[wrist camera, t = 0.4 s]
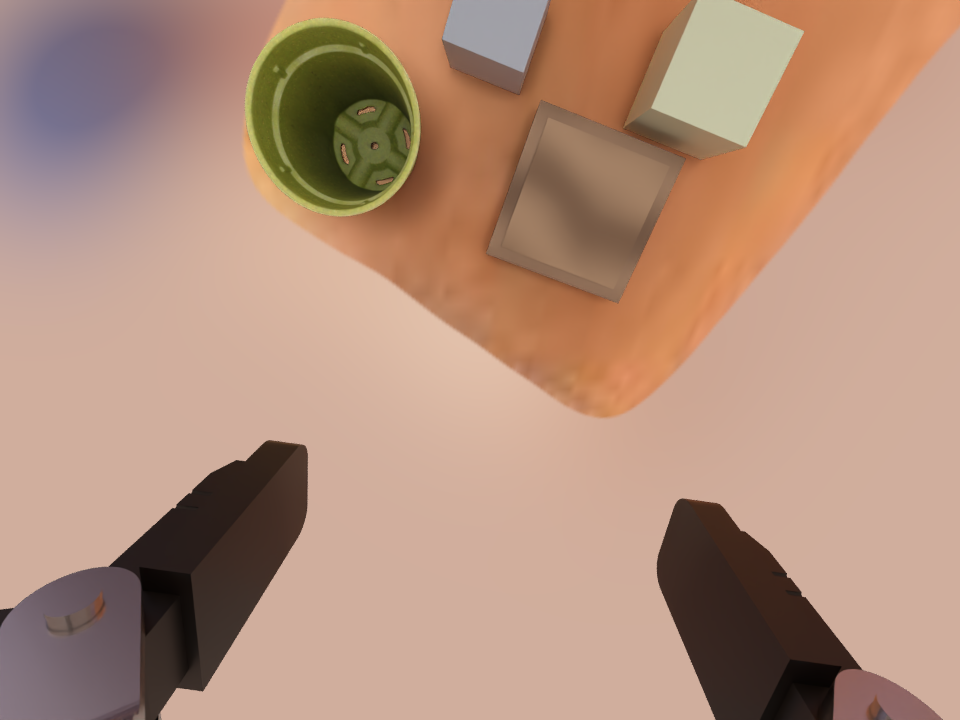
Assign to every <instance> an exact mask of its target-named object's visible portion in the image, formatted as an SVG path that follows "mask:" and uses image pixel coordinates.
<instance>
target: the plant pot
mask: <svg viewBox="0 0 960 720" xmlns="http://www.w3.org/2000/svg"><path fill="white" fill-rule="evenodd" d="M368 106H373V107H375V109H376V110H375V112H368V113H364V114H361V115H357V112H358V110H361V109H364V108H366V107H368ZM245 118H246V126H247V130H248V134H249V138H250V141H251V144H252V147H253V149H254V152H255V154H256V157H257V159H258V161H259V162H260V164H261V166H262V168H263V169H264V171H265V172H266V174H267V175H268V176H269V178H270V179H271V180H272V181H273V183H274V184H275V185H276V186H277V187H278V188H279V189H280V190H281V191H282V192H283V193H284V194H285V195H287V196H288V197H289V198H290V199H292V200H293V201H295V202H296V203H297V204H299V205H301V206H303V207H305V208H307V209H309V210H311V211H313V212H316V213H320V214H324V215H328V216H338V217H344V216H354V215H359V214H363V213H366V212H368V211H371V210H373V209H375V208H377V207H379V206H381V205H382V204H384V203H385V202H386V201H388V200H389V199H390V198H391V197H392V196H393V195H395V194H396V192H397V191H398V190H399V189H400V188H401V187H402V185H403V184H404V183H405V181H406V179H407V178H408V177H409V175H410V174H411V172H412V170H413V168H414V166H415V163H416V160H417V154H418V150H419V145H420V137H421V119H420V110H419V105H418V101H417V97H416V93H415V90H414V88H413V85H412V83H411V80H410V78H409V76H408V74H407V72H406V71H405V69H404V67H403V65H402V64H401V62H400V61H399V60H398V58H397V57H396V56H395V54H394V53H393V52H392V51H391V50H390V49H389V47H388V46H387V45H386V44H385V43H384V42H382V41H381V40H380V39H379V38H378V37H376V36H375V35H374V34H372V33H371V32H369V31H367V30H366V29H364V28H362V27H360V26H358V25H356V24H353V23H350V22H347V21H343V20H339V19H333V18H314V19H309V20H306V21H302V22H298V23H296V24H294V25H291V26H289V27H287V28H286V29H284V30H283V31H282V32H280V33H278V34H277V35H276V36H275V37H273V38H272V39H271V40H270V41H269V42H268V43H267V44H266V45H265V47H264V48H263V50H262V52H261V53H260V55H259V56H258V58H257V60H256V61H255V63H254V65H253V67H252V70H251V73H250V76H249V80H248V83H247V88H246V94H245ZM403 128H404V129H405V130H407V132H408V134H409V137H410V141H411V143H410V149H407V148H406V141H405V136H404V132H403ZM374 142H376V143H377V144H378V148H377V149H376V150H374V149H372V148H371V144H372V143H374ZM342 144H344V145H345V148H346V154H347V157H348V159H349V164H346V163H345V162H344V161H343V158H342V154H341V145H342ZM390 177H393V178H394V179H393V181H392V182H390V183H386V184H383V185H379V184H377V183H376V181H377V180H383V179H387V178H390Z"/></svg>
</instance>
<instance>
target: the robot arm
mask: <svg viewBox="0 0 960 720" xmlns="http://www.w3.org/2000/svg"><path fill="white" fill-rule="evenodd" d="M307 467H308V453H307V449H306V446H304V445H300V444H293V443H285V442H279V441H271V440H269V441H266V442H265V443H264V444H262V445H261V446H260V448H258V449H257V450H256V451H255V452H254V453H253V454H252V455H251V456H250V457H249V458H248V459H247V460H246V461H239V460H236V461H234V462H232V463H230V464H228V465H226V466H224V467H222V468H220V469H218V470H216V471H214V472H212V473H210V474H209V475H208V476H207V477H206V478H205V479H204V480H203V481H202V482H201V483H199V484H198V485H197V486H196V487H195V488H194V489H193V491H192V493H191V494H190V493H189V494H188V495H186V496H185V497H184V498H183V499H182V500H181V501H180V502H179V503H178V504H177V506H176V508H172V509H171V510H170V511H169V512H168V513H167V514H166V515H164V516H163V517H162V518H161V519H160V520H159V521H158V522H157V523H156V524H155V525H153V526H152V527H151V528H150V529H149V530H148V531H147V532H146V533H145V534H144V535H143V536H142V537H140V538H139V539H138V540H137V541H136V542H135V543H134V544H133V545H132V546H131V547H129V548H128V549H127V550H126V551H125V552H124V553H123V554H122V555H121V556H120V557H118V558H117V559H116V560H115V561H114V562H113V563H112V564H111V565H110V566H109V567H98V568H91V569H87V570H82V571H78V572H76V573H72V574H69V575H67V576H64V577H61V578H59V579H57V580H55V581H53V582H51V583H49V584H46V585H45V586H43V587H42V588H40V589H38V590H36V591H35V592H34V593H32V594H30V595H29V596H28V597H26V598H25V599H24V600H23V601H21V602H20V603H19V604H18V605H17V606H16V607H15V608H10V609H3V610H0V720H161V714H160V712H161V710H162V709H163V707H164V706H165V704H166V703H167V701H168V700H169V698H170V697H171V696H172V694H173V693H174V691H175V690H176V688H183V689H190V690H197V691H204V689H205V687H206V686H207V684H208V682H209V681H210V679H211V678H212V676H213V674H214V673H215V671H216V670H217V668H218V666H219V665H220V663H221V661H222V660H223V658H224V657H225V655H226V653H227V652H228V650H229V648H230V647H231V645H232V643H233V642H234V640H235V638H236V637H237V635H238V634H239V632H240V630H241V629H242V627H243V626H244V624H245V622H246V621H247V619H248V618H249V616H250V614H251V613H252V611H253V609H254V608H255V606H256V605H257V603H258V601H259V600H260V598H261V596H262V595H263V593H264V592H265V590H266V588H267V587H268V585H269V583H270V582H271V580H272V579H273V577H274V575H275V574H276V572H277V570H278V569H279V567H280V566H281V564H282V562H283V561H284V559H285V557H286V556H287V554H288V553H289V551H290V549H291V548H292V546H293V545H294V543H295V541H296V540H297V538H298V536H299V535H300V532H301V530H302V528H303V524H304V521H305V518H306V513H307V487H308V486H307V485H308V481H307V480H308V471H307V470H308V468H307ZM657 577H658V582H659V586H660V588H661V591H662V594H663V596H664V598H665V601H666V603H667V605H668V608H669V610H670V612H671V615H672V617H673V620H674V622H675V624H676V627H677V629H678V631H679V634H680V636H681V639H682V641H683V643H684V646H685V648H686V650H687V653H688V655H689V657H690V660H691V662H692V665H693V667H694V669H695V672H696V674H697V676H698V679H699V681H700V684H701V686H702V688H703V691H704V693H705V695H706V698H707V700H708V702H709V705H710V707H711V710H712V712H713V714H714V717H715V719H716V720H943V719H942V718H941V717H940V716H938V715H937V714H936V713H935V712H934V711H933V710H932V709H931V708H930V707H928V706H927V705H926V704H925V703H923V702H922V701H921V700H919V699H918V698H917V697H916V696H914V695H913V694H911V693H910V692H909V691H907V690H905V689H904V688H902V687H900V686H899V685H897V684H896V683H893V682H891V681H890V680H888V679H886V678H884V677H881V676H879V675H877V674H874V673H871V672H867V671H864V670H862V669H861V667H860V666H859V665H858V664H857V663H856V661H855V660H854V658H853V657H852V656H851V655H850V653H849V652H848V651H847V650H846V649H845V647H844V646H843V644H842V643H841V642H840V641H839V639H838V638H837V637H836V636H835V635H834V633H833V632H832V631H831V629H830V628H829V627H828V625H827V624H826V623H825V622H824V621H823V619H822V618H821V616H820V615H819V614H818V613H817V611H816V610H815V609H814V608H813V606H812V605H811V604H810V603H809V601H808V600H807V599H806V597H802V595H801V591H800V590H799V588H798V587H797V586H796V585H795V583H794V582H793V581H792V580H791V578H787V573H786V572H785V571H784V569H783V568H782V567H781V566H780V564H779V563H778V562H777V560H776V559H775V558H774V557H773V555H772V554H771V553H770V552H769V551H768V550H767V549H766V548H764V547H763V546H762V545H761V544H759V543H758V542H757V541H756V540H755V539H753V538H752V537H751V536H750V535H748V534H747V533H746V532H743V531H740V529H739V528H738V527H737V525H736V524H735V522H734V521H733V520H732V519H731V517H730V516H729V514H728V513H727V512H726V510H725V509H724V508H723V507H722V506H721V505H720V504H717V503H711V502H704V501H697V500H690V499H680V500H678V501H677V503H676V504H675V506H674V509H673V512H672V515H671V518H670V521H669V524H668V527H667V530H666V533H665V537H664V539H663V543H662V545H661V549H660V552H659V555H658V560H657Z"/></svg>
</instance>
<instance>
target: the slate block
mask: <svg viewBox="0 0 960 720" xmlns="http://www.w3.org/2000/svg"><path fill="white" fill-rule="evenodd" d="M550 1H551V0H453V2H452V5H451V9H450V12H449V16H448V20H447V23H446V27H445V30H444V34H443V37H442V41H443V45H444V48H445V51H446V54H447V58H448V61H449V64H450V67H451V68H454V69H456V70H459V71H461V72H464V73H466V74H469V75H471V76H473V77H476V78H478V79H481V80H483V81H486V82H488V83H491V84H493V85H496V86H498V87H501V88H503V89H506V90H508V91H510V92H513V93H515V94H518V95H519V94H520V91H521V89H522V86H523V83H524V80H525V77H526V74H527V71H528V68H529V65H530V62H531V59H532V57H533V54H534V51H535V48H536V45H537V42H538V39H539V36H540V33H541V30H542V27H543V24H544V22H545V19H546V16H547V13H548V9H549V5H550Z"/></svg>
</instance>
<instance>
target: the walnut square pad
mask: <svg viewBox="0 0 960 720" xmlns="http://www.w3.org/2000/svg"><path fill="white" fill-rule="evenodd" d="M685 160H686V158H683V157H681V156H678V155H676V154H673V153H671V152H668V151H666V150H664V149H661V148H659V147H656V146H654V145H651V144H649V143H646V142H644V141H641V140H639V139H636V138H634V137H631V136H629V135H627V134H624V133H622V132H619V131H617V130H614V129H612V128H609V127H607V126H604V125H602V124H599V123H597V122H594V121H592V120H589V119H587V118H585V117H582V116H580V115H577V114H575V113H572V112H570V111H567V110H565V109H562V108H560V107H557V106H555V105H552V104H550V103H548V102H545V101H543V100H541V101H540V104H539V107H538V109H537V112H536V115H535V118H534V121H533V123H532V126H531V129H530V132H529V134H528V137H527V140H526V143H525V146H524V148H523V151H522V154H521V157H520V160H519V162H518V165H517V168H516V171H515V174H514V176H513V179H512V182H511V185H510V188H509V190H508V193H507V196H506V199H505V202H504V204H503V207H502V210H501V213H500V216H499V218H498V221H497V224H496V227H495V230H494V232H493V235H492V238H491V241H490V244H489V246H488V249H487V252H486V254H488V255H490V256H493V257H496V258H498V259H501V260H504V261H506V262H509V263H512V264H514V265H517V266H520V267H522V268H525V269H528V270H530V271H533V272H536V273H538V274H541V275H544V276H546V277H549V278H552V279H554V280H557V281H560V282H562V283H565V284H568V285H570V286H573V287H576V288H578V289H581V290H584V291H586V292H589V293H592V294H594V295H597V296H600V297H602V298H605V299H608V300H610V301H613V302H616V303H619V301H620V299H621V297H622V295H623V292H624V290H625V288H626V286H627V284H628V282H629V280H630V277H631V275H632V273H633V271H634V269H635V267H636V265H637V262H638V260H639V258H640V256H641V254H642V252H643V250H644V247H645V245H646V243H647V241H648V239H649V237H650V235H651V232H652V230H653V228H654V226H655V224H656V222H657V220H658V217H659V215H660V213H661V211H662V209H663V207H664V205H665V202H666V200H667V198H668V196H669V194H670V192H671V190H672V187H673V185H674V183H675V181H676V179H677V177H678V175H679V172H680V170H681V168H682V166H683V164H684V162H685Z"/></svg>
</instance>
